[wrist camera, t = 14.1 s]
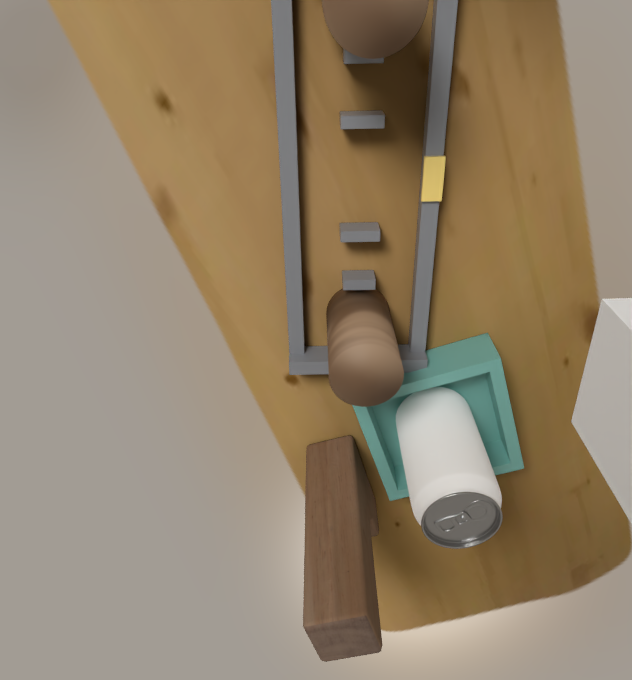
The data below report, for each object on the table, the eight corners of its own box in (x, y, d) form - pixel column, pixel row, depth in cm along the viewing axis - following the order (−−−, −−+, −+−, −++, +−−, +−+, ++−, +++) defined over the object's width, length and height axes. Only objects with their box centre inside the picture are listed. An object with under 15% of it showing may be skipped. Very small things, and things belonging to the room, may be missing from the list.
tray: (347, 372, 48) (350, 399, 45) (487, 332, 46) (500, 357, 43) (385, 470, 54) (390, 501, 51) (511, 439, 52) (524, 468, 49)
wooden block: (376, 499, 56) (398, 688, 41) (332, 509, 57) (338, 698, 42) (352, 432, 52) (367, 615, 36) (305, 443, 53) (301, 628, 37)
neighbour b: (339, 276, 44) (344, 335, 36) (398, 295, 45) (416, 357, 37) (317, 329, 46) (318, 395, 39) (374, 346, 47) (386, 414, 39)
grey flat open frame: (267, -94, 32) (264, -100, 30) (464, -98, 32) (474, -105, 30) (290, 358, 48) (289, 374, 46) (422, 356, 48) (427, 372, 46)
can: (481, 421, 50) (524, 530, 40) (417, 452, 52) (442, 564, 42) (447, 371, 47) (483, 474, 37) (380, 406, 49) (398, 513, 39)
